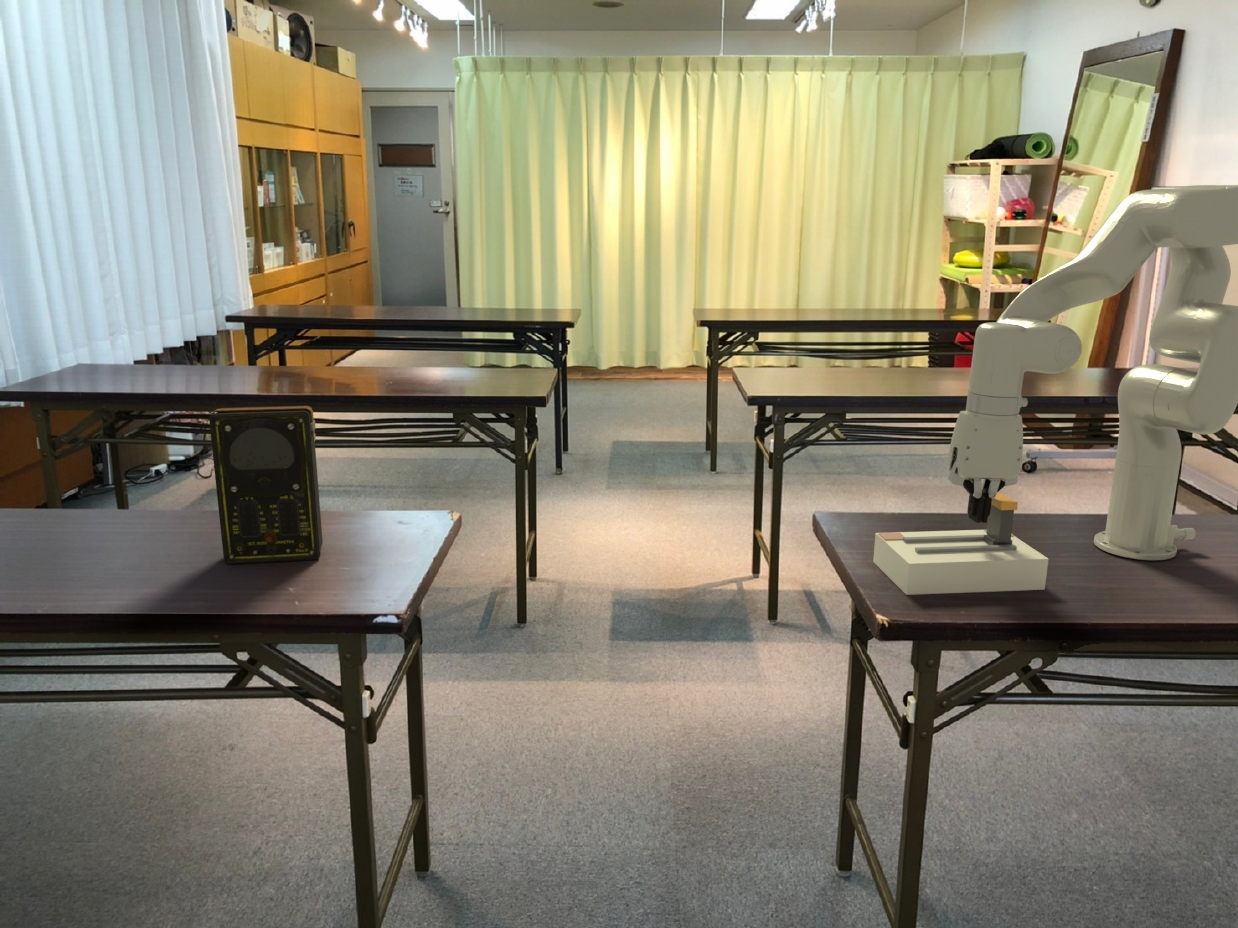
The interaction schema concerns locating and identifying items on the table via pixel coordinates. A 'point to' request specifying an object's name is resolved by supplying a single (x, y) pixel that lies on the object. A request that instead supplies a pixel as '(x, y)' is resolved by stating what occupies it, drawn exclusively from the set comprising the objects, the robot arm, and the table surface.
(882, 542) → the switch box
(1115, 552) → the robot arm
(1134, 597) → the table surface
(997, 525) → the handle
